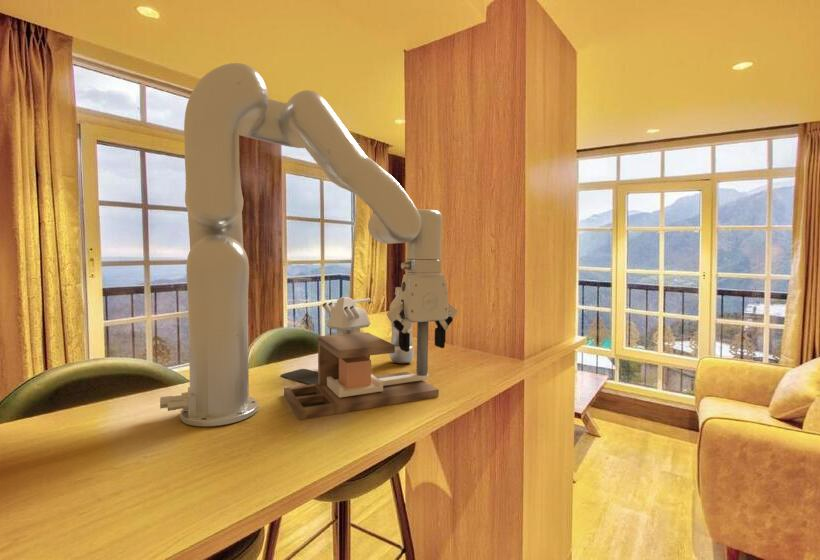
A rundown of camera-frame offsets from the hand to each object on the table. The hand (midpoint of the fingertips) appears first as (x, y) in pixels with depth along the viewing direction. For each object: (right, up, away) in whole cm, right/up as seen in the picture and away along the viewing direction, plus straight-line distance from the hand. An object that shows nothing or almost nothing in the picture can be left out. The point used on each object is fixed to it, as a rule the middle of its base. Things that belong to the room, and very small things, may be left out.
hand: (422, 348), depth 91 cm
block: (-14, -6, -7) cm, 17 cm away
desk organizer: (-13, -9, -6) cm, 16 cm away
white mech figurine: (-18, -8, +15) cm, 24 cm away
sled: (-8, -7, -4) cm, 12 cm away
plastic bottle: (-5, -7, +21) cm, 22 cm away
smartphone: (-25, -8, +5) cm, 27 cm away
